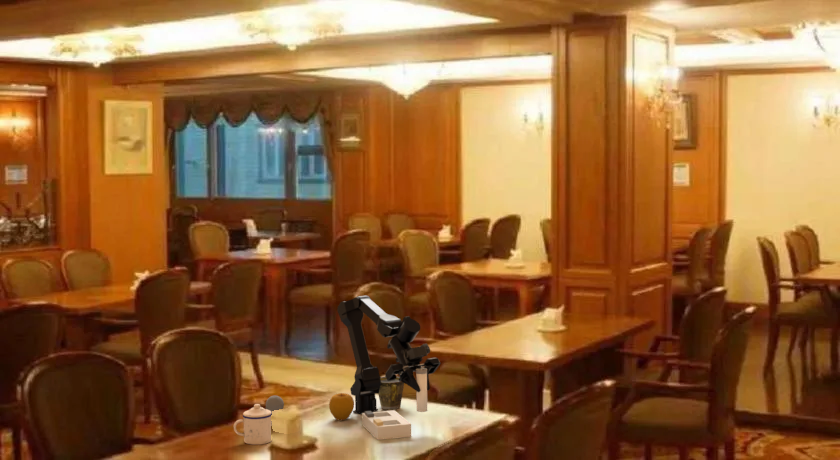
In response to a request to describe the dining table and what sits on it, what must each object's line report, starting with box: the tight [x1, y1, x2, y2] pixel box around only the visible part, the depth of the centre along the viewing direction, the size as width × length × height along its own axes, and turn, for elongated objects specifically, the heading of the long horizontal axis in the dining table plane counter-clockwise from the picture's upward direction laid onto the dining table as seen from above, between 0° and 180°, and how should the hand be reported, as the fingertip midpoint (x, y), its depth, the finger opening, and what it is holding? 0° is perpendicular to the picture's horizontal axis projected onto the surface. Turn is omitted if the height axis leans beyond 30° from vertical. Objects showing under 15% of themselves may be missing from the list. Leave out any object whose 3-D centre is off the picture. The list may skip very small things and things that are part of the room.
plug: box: [415, 368, 428, 413], centre depth 354 cm, size 4×4×14 cm
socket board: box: [361, 409, 412, 441], centre depth 356 cm, size 19×11×5 cm, turn 17°
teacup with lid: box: [233, 403, 273, 446], centre depth 345 cm, size 12×9×12 cm
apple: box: [328, 392, 355, 421], centre depth 371 cm, size 8×8×9 cm
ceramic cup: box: [377, 376, 405, 410], centre depth 385 cm, size 13×10×10 cm
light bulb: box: [265, 395, 285, 412], centre depth 364 cm, size 6×6×10 cm
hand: (424, 390), depth 352 cm, fingers closed on plug, 3 cm apart
